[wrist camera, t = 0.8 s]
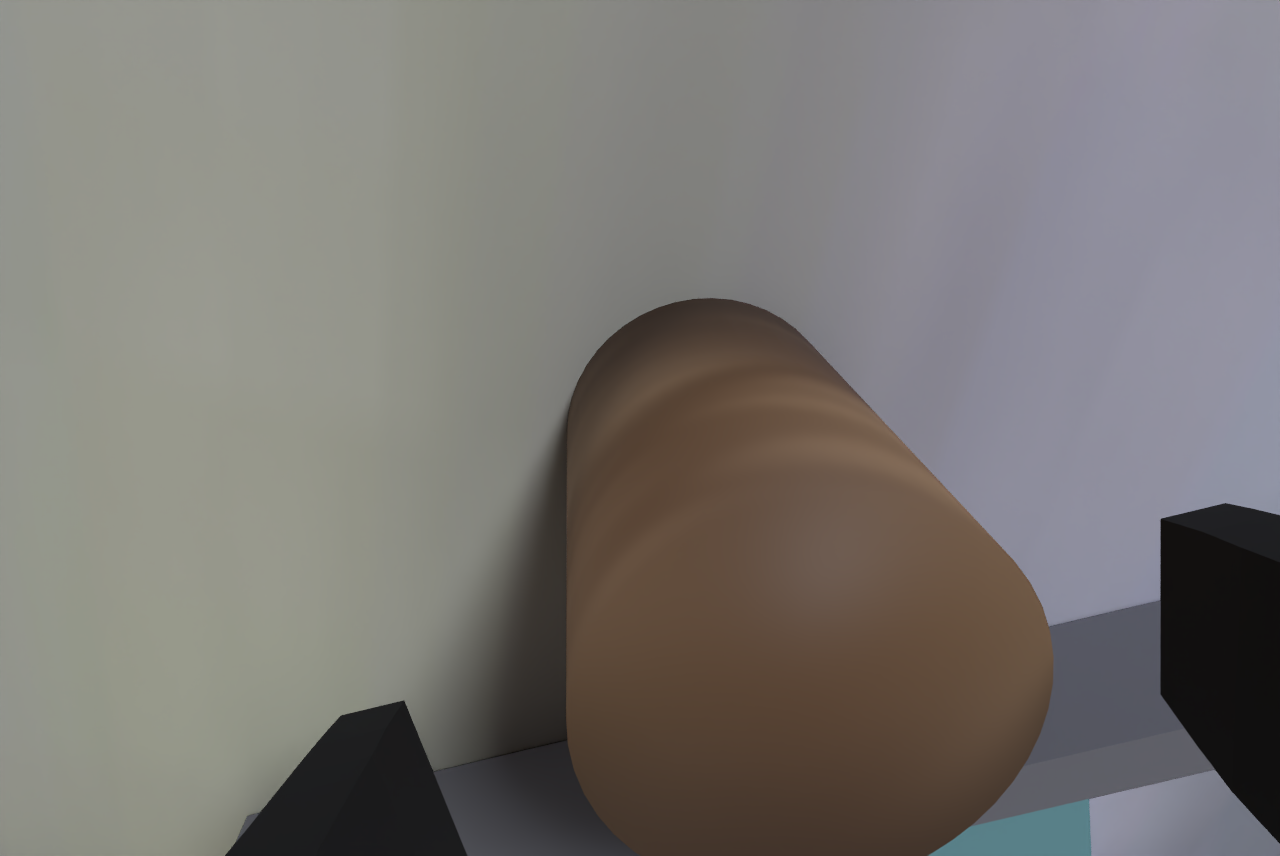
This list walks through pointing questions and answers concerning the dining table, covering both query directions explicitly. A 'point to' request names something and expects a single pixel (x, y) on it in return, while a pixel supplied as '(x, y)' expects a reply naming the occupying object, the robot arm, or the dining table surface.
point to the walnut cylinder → (779, 607)
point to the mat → (1028, 835)
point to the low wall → (1052, 776)
